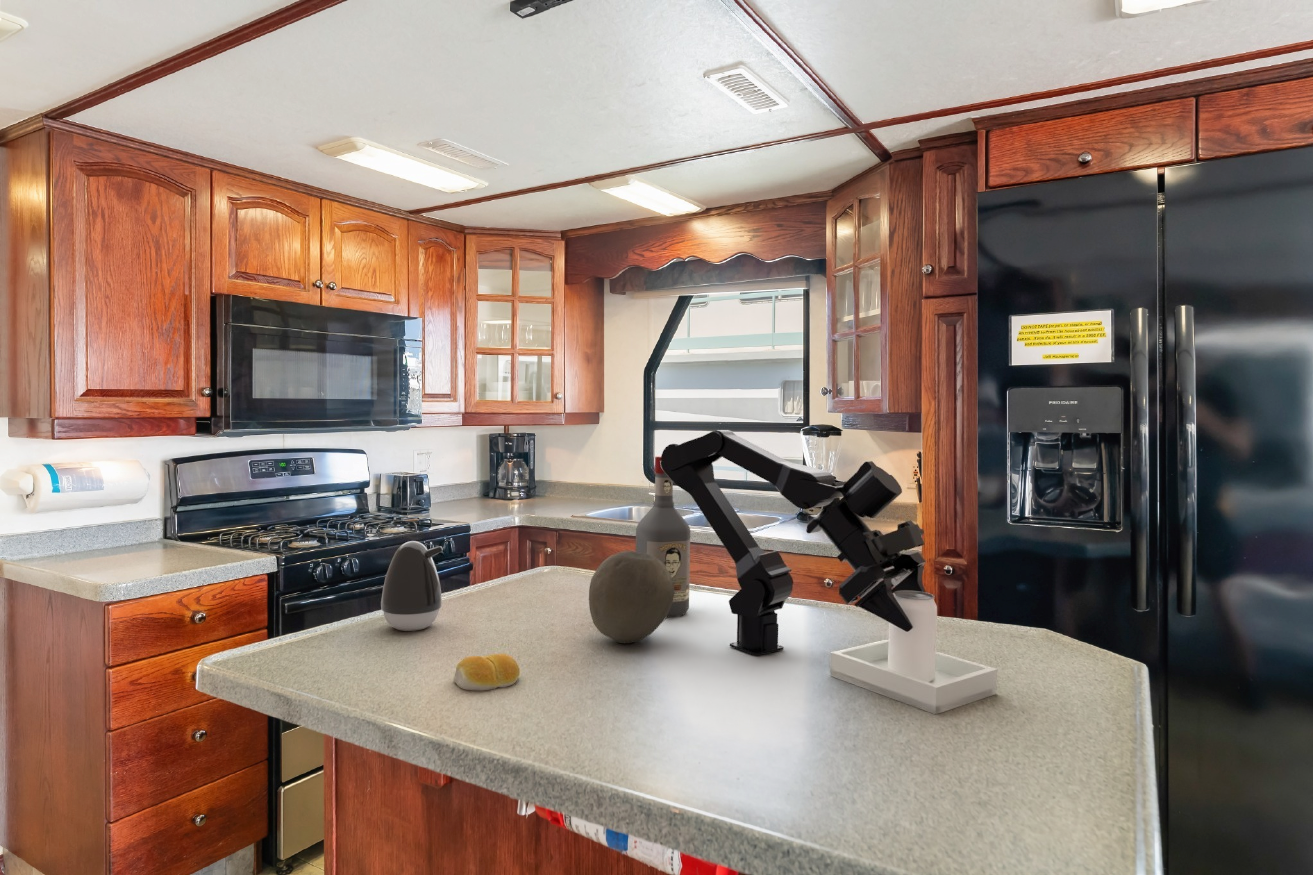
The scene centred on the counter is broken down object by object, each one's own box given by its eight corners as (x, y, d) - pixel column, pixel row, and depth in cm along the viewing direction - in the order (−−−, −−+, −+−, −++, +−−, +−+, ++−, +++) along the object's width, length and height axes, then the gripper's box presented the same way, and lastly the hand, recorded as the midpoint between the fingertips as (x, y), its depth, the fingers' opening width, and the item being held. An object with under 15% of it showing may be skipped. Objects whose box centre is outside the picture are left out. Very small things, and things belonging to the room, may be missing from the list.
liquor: (630, 608, 157) (633, 455, 156) (672, 604, 160) (675, 455, 160) (649, 619, 148) (652, 458, 147) (693, 615, 152) (696, 458, 151)
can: (944, 680, 113) (947, 597, 113) (912, 687, 110) (915, 601, 110) (909, 668, 119) (912, 588, 119) (877, 674, 116) (880, 591, 116)
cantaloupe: (636, 658, 125) (638, 563, 124) (570, 641, 133) (571, 552, 133) (688, 639, 136) (689, 551, 135) (624, 624, 144) (625, 542, 144)
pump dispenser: (432, 635, 135) (433, 546, 135) (372, 634, 135) (372, 545, 135) (449, 620, 145) (450, 537, 145) (393, 619, 145) (393, 536, 145)
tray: (830, 675, 118) (830, 652, 118) (890, 660, 126) (891, 638, 126) (935, 714, 103) (936, 687, 103) (996, 693, 111) (997, 669, 111)
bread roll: (528, 685, 112) (529, 657, 112) (467, 696, 107) (467, 667, 107) (505, 668, 119) (505, 642, 119) (446, 678, 114) (447, 651, 114)
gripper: (861, 508, 109) (939, 602, 103) (914, 499, 124) (985, 580, 117) (809, 558, 114) (879, 650, 108) (865, 543, 129) (930, 623, 122)
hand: (922, 623), depth 114 cm, fingers open, 8 cm apart
